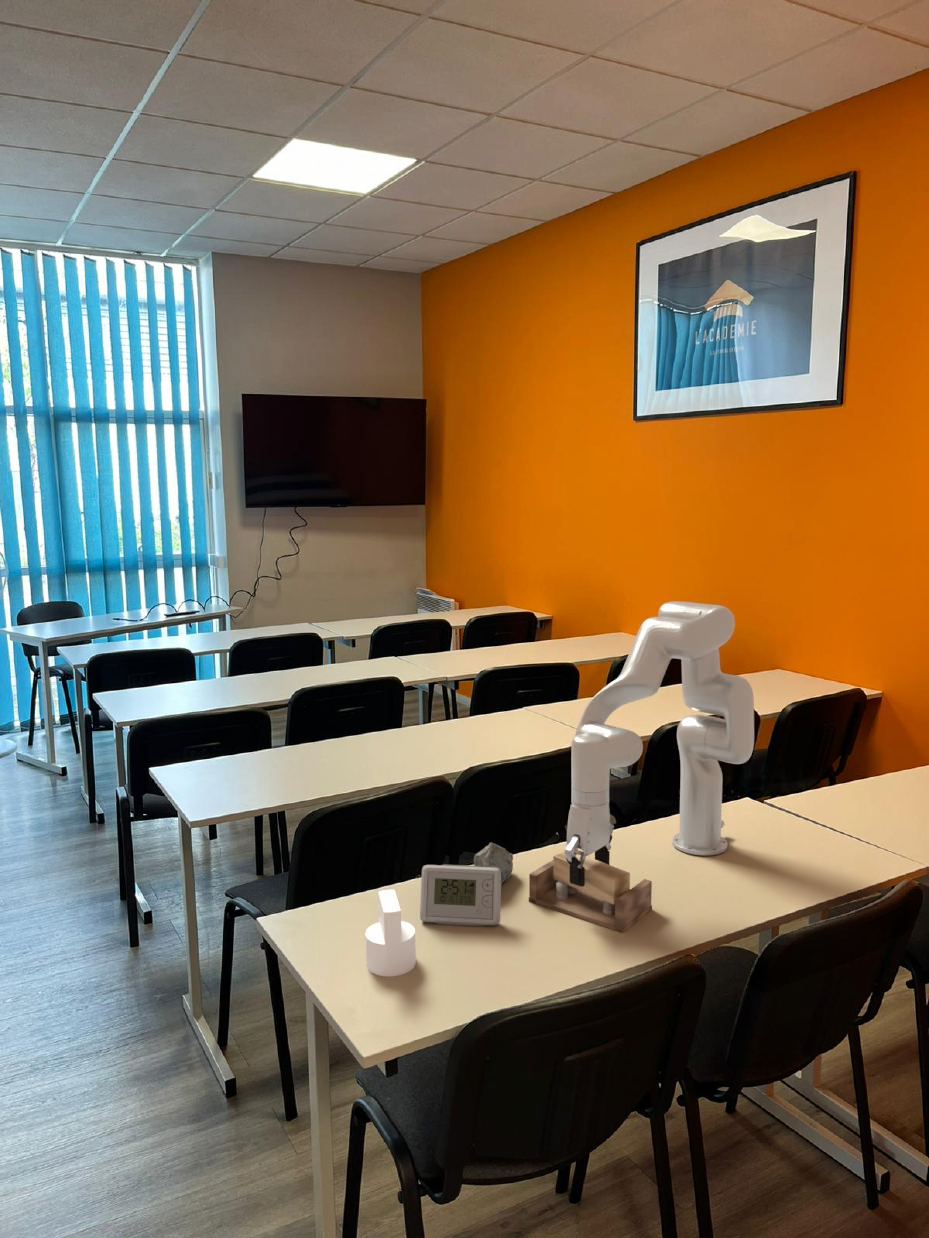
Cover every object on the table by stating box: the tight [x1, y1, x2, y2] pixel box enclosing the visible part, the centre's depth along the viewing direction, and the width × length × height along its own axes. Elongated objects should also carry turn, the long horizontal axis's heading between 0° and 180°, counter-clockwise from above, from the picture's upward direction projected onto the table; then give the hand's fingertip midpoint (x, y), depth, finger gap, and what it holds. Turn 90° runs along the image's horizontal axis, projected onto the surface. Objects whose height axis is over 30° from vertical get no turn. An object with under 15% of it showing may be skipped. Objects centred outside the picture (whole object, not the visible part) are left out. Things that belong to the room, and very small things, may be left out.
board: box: [552, 851, 631, 905], centre depth 183 cm, size 5×16×5 cm, turn 41°
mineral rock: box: [473, 842, 514, 885], centre depth 193 cm, size 13×11×10 cm
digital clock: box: [419, 864, 502, 927], centre depth 178 cm, size 16×9×11 cm, turn 71°
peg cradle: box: [528, 859, 653, 933], centre depth 183 cm, size 12×22×6 cm, turn 51°
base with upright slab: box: [364, 889, 417, 977], centre depth 162 cm, size 9×9×12 cm
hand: (589, 876), depth 183 cm, fingers open, 9 cm apart
